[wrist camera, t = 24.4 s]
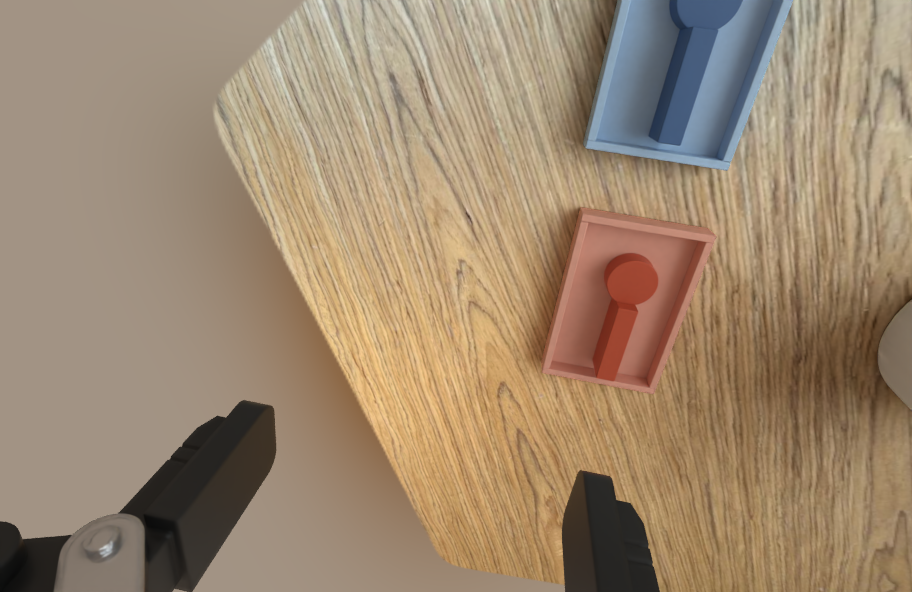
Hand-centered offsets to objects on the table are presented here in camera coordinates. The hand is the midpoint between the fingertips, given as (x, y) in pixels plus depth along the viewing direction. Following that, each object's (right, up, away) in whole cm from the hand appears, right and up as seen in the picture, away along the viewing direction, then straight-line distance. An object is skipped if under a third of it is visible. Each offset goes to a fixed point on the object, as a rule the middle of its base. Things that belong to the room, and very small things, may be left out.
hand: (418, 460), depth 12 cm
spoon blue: (+17, +21, +21) cm, 34 cm away
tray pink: (+15, +4, +30) cm, 33 cm away
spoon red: (+15, +3, +29) cm, 33 cm away
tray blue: (+17, +22, +21) cm, 34 cm away
